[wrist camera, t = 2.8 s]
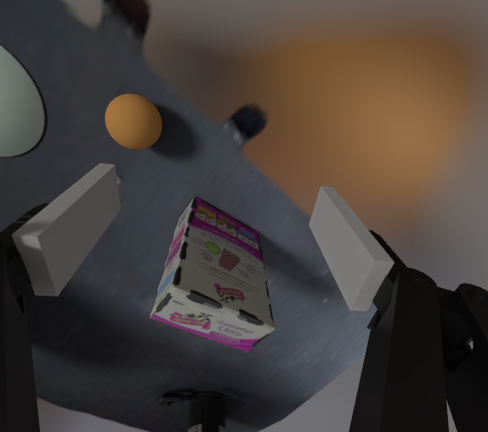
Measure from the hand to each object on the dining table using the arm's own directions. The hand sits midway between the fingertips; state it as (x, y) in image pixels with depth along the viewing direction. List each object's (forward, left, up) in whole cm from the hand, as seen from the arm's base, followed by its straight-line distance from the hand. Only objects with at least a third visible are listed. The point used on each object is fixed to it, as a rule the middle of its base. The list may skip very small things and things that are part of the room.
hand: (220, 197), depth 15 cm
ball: (0, +9, -15) cm, 18 cm away
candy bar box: (-14, -1, -18) cm, 23 cm away
